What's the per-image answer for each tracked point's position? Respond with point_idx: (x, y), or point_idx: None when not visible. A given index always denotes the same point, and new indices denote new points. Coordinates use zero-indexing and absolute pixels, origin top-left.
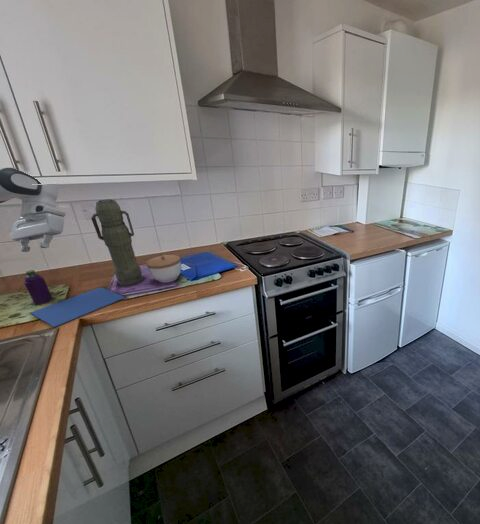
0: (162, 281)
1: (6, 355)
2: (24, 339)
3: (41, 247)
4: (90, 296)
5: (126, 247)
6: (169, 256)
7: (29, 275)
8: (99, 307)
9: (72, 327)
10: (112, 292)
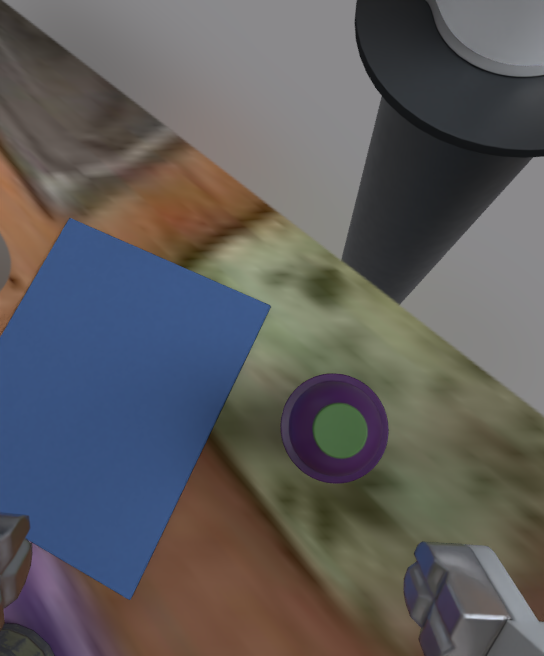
0: None
1: (98, 76)
2: (118, 148)
3: (20, 516)
4: (105, 475)
5: None
6: None
7: (326, 404)
8: None
9: (3, 226)
10: None
